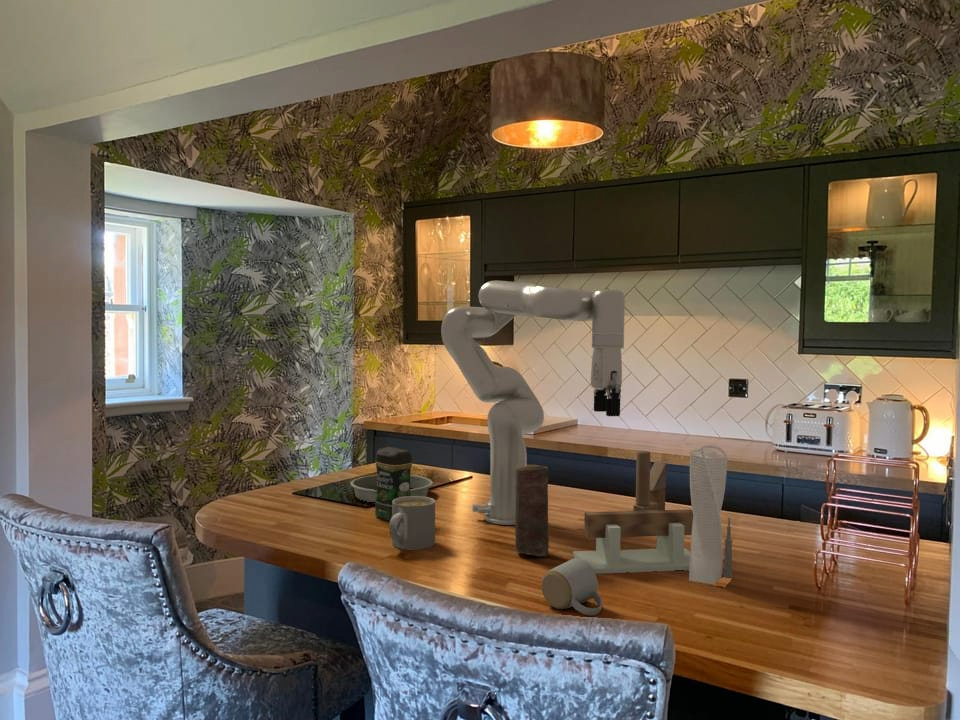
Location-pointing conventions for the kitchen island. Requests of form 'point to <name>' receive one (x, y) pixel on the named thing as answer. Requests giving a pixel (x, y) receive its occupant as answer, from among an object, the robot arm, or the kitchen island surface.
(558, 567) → the ceramic mug
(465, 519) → the kitchen island surface
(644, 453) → the brown wooden upright piece
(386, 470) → the coffee jar
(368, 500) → the cake pan
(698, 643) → the kitchen island surface
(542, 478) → the candle
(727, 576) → the skyscraper
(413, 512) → the coffee mug
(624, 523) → the walnut rail
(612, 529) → the notched stand
